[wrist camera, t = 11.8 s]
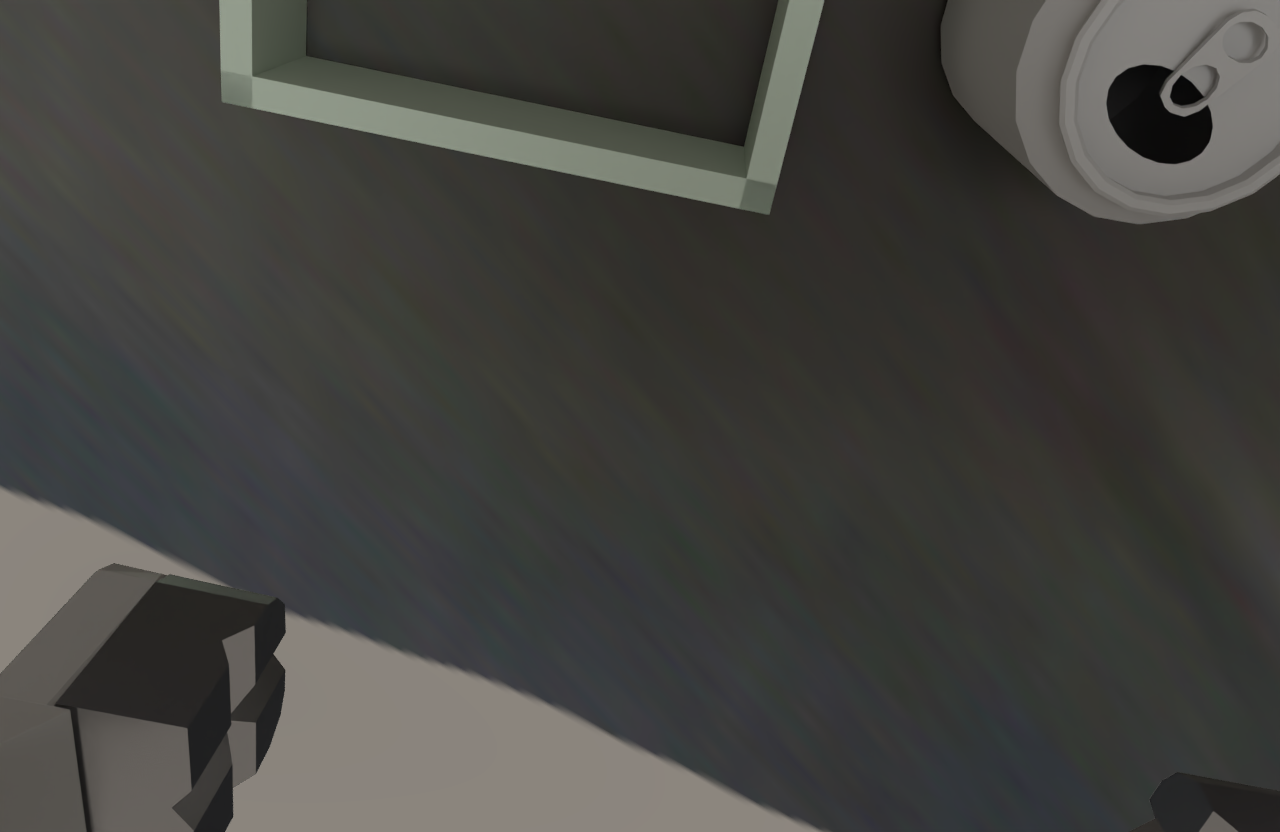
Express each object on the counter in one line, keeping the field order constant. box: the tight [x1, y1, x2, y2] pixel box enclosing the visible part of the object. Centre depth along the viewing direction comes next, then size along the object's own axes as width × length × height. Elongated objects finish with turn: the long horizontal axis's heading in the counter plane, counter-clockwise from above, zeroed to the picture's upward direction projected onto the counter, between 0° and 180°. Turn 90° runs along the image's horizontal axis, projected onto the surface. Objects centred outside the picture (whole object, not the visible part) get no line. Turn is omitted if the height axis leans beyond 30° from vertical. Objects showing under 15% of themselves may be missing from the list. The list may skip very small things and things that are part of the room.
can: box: [941, 0, 1280, 224], centre depth 27 cm, size 8×8×12 cm
